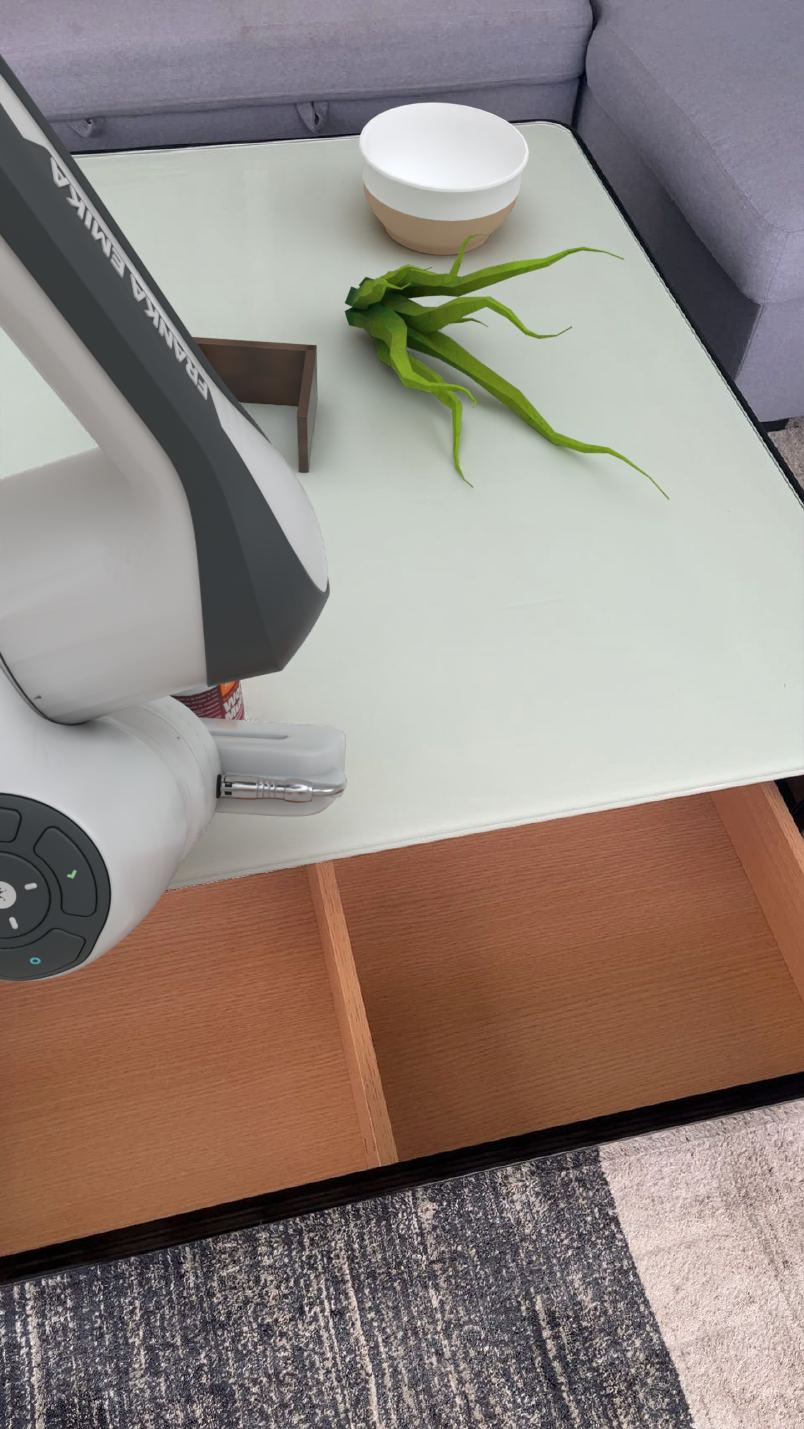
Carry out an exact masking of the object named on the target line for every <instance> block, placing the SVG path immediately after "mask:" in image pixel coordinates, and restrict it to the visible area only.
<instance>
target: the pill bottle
mask: <svg viewBox="0 0 804 1429" xmlns="http://www.w3.org/2000/svg"><path fill="white" fill-rule="evenodd" d="M170 696H171V697H173V698H174V699H176V700H178V701H179V702H181V703H182V704H184V705H185V706H186V707H188V708H189V709H190V710H191V711H192V712H193V713H194V714H195V715H196V716H197V717H199V718H215V719H231V720H246V715H245V713H246V712H245V705H244V698H243V688H242V680H239V681H234V682H230V683H225V684H221V685H216V686H212V687H208V686H207V684H205V685H202V686H198V687H195V688H192V689H189V690H186V691H182V692H179V693H176V694H173V695H170Z"/></svg>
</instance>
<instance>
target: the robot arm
mask: <svg viewBox="0 0 804 1429" xmlns="http://www.w3.org/2000/svg"><path fill="white" fill-rule="evenodd" d="M0 329H1V330H2V331H3V332H4V334H5V335H6V336H7V338H8V339H10V341H11V342H12V343H13V344H14V346H15V347H16V348H17V349H18V351H20V353H21V354H22V355H23V356H24V357H25V358H26V360H27V361H28V363H29V364H30V365H31V366H32V367H33V369H34V370H35V371H36V372H37V373H38V375H39V376H40V377H41V378H42V379H43V380H44V382H45V383H46V384H47V385H48V386H49V388H50V389H51V390H52V392H54V394H55V395H56V396H57V397H58V399H59V400H60V401H61V402H62V403H63V404H64V406H65V407H66V408H67V410H68V411H69V413H71V414H72V416H73V417H74V418H75V419H76V420H77V422H78V423H79V424H80V425H81V426H82V427H83V429H84V430H85V431H86V432H87V434H88V435H89V436H90V437H91V439H92V440H93V441H94V442H95V444H96V445H97V447H95V448H94V447H93V448H91V449H88V450H84V451H82V452H78V453H76V454H73V455H70V456H67V457H63V458H60V459H57V460H54V461H52V462H48V463H45V464H42V465H38V466H35V467H33V468H32V467H31V468H29V469H26V470H23V471H20V472H16V473H14V474H11V475H8V476H5V477H1V478H0V981H1V982H2V981H3V982H10V983H11V982H12V983H23V982H38V981H45V980H51V979H54V978H59V977H64V976H66V975H68V974H71V973H74V972H76V971H79V970H81V969H83V968H84V967H87V966H88V965H89V964H91V963H94V962H95V961H96V960H98V959H99V958H101V957H102V956H104V955H105V954H106V953H108V952H109V951H110V950H112V949H113V948H115V947H116V946H117V945H118V944H120V942H121V941H123V940H124V939H125V938H126V937H127V936H128V935H130V934H131V933H132V932H133V931H134V930H135V929H136V928H137V927H138V926H139V925H140V923H141V922H142V921H143V920H145V918H146V917H147V916H148V915H149V913H150V912H151V911H152V910H153V909H154V907H155V906H156V905H157V903H158V902H159V901H160V899H161V898H162V896H163V895H164V893H165V892H166V890H168V887H169V886H170V885H171V882H172V881H173V879H174V877H175V875H176V873H177V872H178V869H179V867H180V866H181V865H182V864H183V862H185V860H186V859H187V857H188V856H189V855H190V853H191V852H192V851H193V849H194V848H195V846H196V844H197V842H198V841H199V839H200V838H201V837H202V835H203V833H205V831H206V829H207V828H208V826H209V824H211V821H212V820H213V817H214V816H215V813H219V814H234V815H235V814H236V815H251V816H268V817H284V818H285V817H288V818H289V817H291V818H293V817H306V816H307V817H308V816H313V815H317V814H320V813H322V812H324V811H325V810H326V809H328V808H329V807H330V806H331V805H332V804H333V803H335V801H336V800H337V799H338V798H340V797H341V796H343V795H344V794H345V790H346V788H347V783H348V778H347V777H346V773H345V765H346V748H347V746H346V745H347V738H346V737H347V735H346V733H345V731H344V730H342V729H340V728H338V727H335V726H331V725H325V724H324V725H323V724H308V723H291V722H275V721H261V720H246V719H245V720H231V719H215V718H199V717H197V716H196V715H195V714H194V713H193V712H192V711H191V710H190V709H189V708H188V707H186V706H185V705H184V704H182V703H181V702H179V701H178V700H176V699H174V698H173V697H171V696H170V695H173V694H176V693H179V692H182V691H186V690H189V689H192V688H195V687H198V686H202V685H205V684H207V686H208V687H212V686H216V685H221V684H225V683H230V682H234V681H239V680H241V681H243V680H247V679H251V678H256V677H260V676H265V675H270V674H274V673H278V672H282V671H283V670H284V669H285V668H286V666H287V665H288V664H289V663H290V661H291V660H292V659H293V658H294V656H295V655H296V654H297V652H298V651H299V650H300V648H301V647H302V645H303V644H304V642H305V641H306V640H307V638H308V637H309V635H310V633H311V632H312V631H313V629H314V627H315V625H316V623H317V622H318V620H319V618H320V616H321V615H322V612H323V610H324V608H325V606H326V604H327V602H328V599H329V597H330V595H331V594H330V593H331V587H330V578H329V567H328V566H329V564H328V559H327V550H326V545H325V541H324V536H323V532H322V529H321V525H320V522H319V520H318V517H317V514H316V511H315V509H314V507H313V505H312V502H311V500H310V497H309V496H308V494H307V492H306V490H305V488H304V486H303V484H302V483H301V481H300V479H299V477H298V476H297V474H296V473H295V471H294V470H293V469H292V467H291V465H290V464H289V463H288V462H287V461H286V459H285V458H284V457H283V456H282V455H281V453H280V452H279V451H278V450H277V449H276V447H275V446H273V444H272V442H271V441H270V439H269V438H268V437H267V434H265V432H264V431H263V430H262V428H261V427H260V426H259V424H258V423H257V422H256V421H255V419H254V418H253V416H252V415H250V413H249V412H248V411H247V410H246V409H245V407H244V406H243V405H242V404H241V402H239V401H238V400H237V399H236V398H235V396H234V395H233V394H232V393H231V391H230V390H229V389H228V388H227V386H226V385H225V384H224V382H223V381H222V380H221V378H220V377H219V376H218V374H217V373H216V371H215V370H214V369H213V367H212V366H211V364H210V363H209V361H208V360H207V358H206V357H205V355H204V354H203V352H202V351H201V349H200V348H199V346H198V345H197V343H196V342H195V340H194V339H193V337H194V336H192V334H191V333H190V331H189V330H188V328H187V327H186V326H185V323H184V322H183V321H182V320H181V318H180V317H179V315H178V313H177V312H176V310H175V309H174V307H173V305H171V302H170V300H168V298H167V297H166V295H165V294H164V292H163V291H162V289H161V287H160V286H159V284H158V282H156V280H155V279H154V277H153V276H152V274H151V273H150V271H149V270H148V267H146V265H145V264H144V262H143V260H142V259H141V257H140V256H139V254H138V253H137V251H136V250H135V248H134V247H133V245H132V243H131V242H130V241H129V240H128V237H127V236H126V235H125V234H124V232H123V230H122V229H121V227H120V226H119V224H118V223H117V221H116V220H115V219H114V217H113V215H112V213H111V212H110V210H109V209H108V208H107V206H106V205H105V203H104V202H103V200H102V198H101V197H100V196H99V194H98V192H97V191H96V190H95V188H94V187H93V185H92V184H91V182H90V181H89V179H88V178H87V176H86V175H85V173H84V172H83V170H82V169H81V168H80V166H79V165H78V163H77V162H76V160H75V158H74V156H72V155H71V153H70V151H69V149H68V148H67V147H66V145H65V144H64V142H63V141H62V140H61V138H60V137H59V135H58V134H57V132H56V131H55V130H54V128H53V127H52V126H51V124H50V123H49V120H47V117H45V115H44V114H43V112H42V111H41V109H40V108H39V107H38V105H37V103H36V102H35V101H34V98H32V96H31V95H30V93H29V92H28V90H27V89H26V87H25V86H24V85H23V84H22V82H21V80H20V79H19V78H18V76H17V75H16V73H15V72H14V71H13V69H12V68H11V67H10V65H9V64H8V62H7V61H6V59H5V58H4V57H3V55H2V54H1V53H0Z"/></svg>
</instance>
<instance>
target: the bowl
mask: <svg viewBox="0 0 804 1429" xmlns="http://www.w3.org/2000/svg"><path fill="white" fill-rule="evenodd" d="M358 149H359V151H360V154H361V156H362V167H361V168H362V169H361V178H362V184H363V191H364V195H365V197H366V200H367V202H368V204H369V207H370V208H371V210H372V212H373V214H374V215H375V216H376V218H377V219H378V220H379V221H380V222H381V223H382V225H383V226H384V229H385V232H386V233H387V234H388V236H389V237H390V238H391V239H392V240H394V241H395V243H397V244H400V245H401V246H403V247H404V248H407V249H409V250H412V251H415V252H418V253H422V254H428V255H435V256H448V255H449V256H451V255H458V254H459V251H460V249H461V246H462V243H463V242H464V241H465V240H466V239H467V238H468V237H469V236H472V235H477V234H485V235H479V236H476V237H473V238H470V240H469V241H468V243H467V244H466V246H465V250H464V253H467V252H470V251H473V250H475V249H477V248H479V247H481V246H482V245H483V244H484V243H485V242H487V240H488V239H489V237H490V236H486V235H491V234H493V232H495V231H496V230H497V229H498V228H499V227H501V226H502V225H503V224H504V222H505V221H506V219H507V218H508V217H509V215H510V214H511V213H512V211H513V209H514V208H515V205H516V203H517V200H518V196H519V193H520V189H521V186H522V176H523V175H522V173H523V171H524V169H525V167H526V166H527V164H528V161H529V157H530V152H529V151H530V150H529V145H528V143H527V141H526V139H525V137H524V135H523V134H522V133H521V132H520V131H519V130H518V129H517V127H515V126H514V125H512V124H511V122H508V121H507V120H506V119H503V118H502V117H500V116H498V115H496V114H494V113H491V112H488V111H486V110H483V109H481V108H477V107H476V108H475V107H473V106H469V105H463V104H457V103H451V102H450V103H449V102H417V103H411V104H405V105H400V106H396V107H394V108H389V109H387V110H385V111H382V112H381V113H378V114H377V115H376V116H374V117H372V118H371V119H370V120H369V121H368V122H367V123H366V124H365V125H364V127H363V128H362V130H361V132H360V134H359V137H358Z"/></svg>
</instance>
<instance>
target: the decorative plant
mask: <svg viewBox="0 0 804 1429" xmlns="http://www.w3.org/2000/svg"><path fill="white" fill-rule="evenodd" d="M479 235H485V234H477V235H472V236H469V237H468V238H467V239H466V240H465V241H464V242H463V243H462V246H461V249H460V251H459V254H457V257H456V259H455V261H454V262H453V265H452V267H451V268H450V271H449V273H438V272H434V271H431V270H430V269H432V268H433V266H430V267H428V268H425V269H424V268H421V267H418V266H415V265H411V264H405V265H402V266H400V267H399V268H397V269H395V270H388V271H387V272H386V273H385V274H384V275H383V274H382V275H381V276H379V277H376V278H371V277H369V276H365V277H364V278H363V279H362V281H361V282H360V283H359V284H358V286H359V287H357V288H356V287H354V286H350V288H349V290H348V293H347V296H346V299H345V301H344V304H345V305H347V306H349V308H348V309H346V310H344V314H345V317H346V318H345V319H346V321H347V324H348V326H349V327H355V328H360V329H363V330H364V331H365V332H367V333H368V334H369V336H370V337H371V338H372V340H373V341H374V346H375V351H376V356H377V359H378V360H379V361H381V362H382V363H384V364H385V365H387V366H388V367H390V368H392V369H393V370H394V372H395V374H396V375H397V377H398V379H399V380H400V382H401V383H402V385H403V387H405V388H410V389H414V390H418V391H423V392H426V393H430V394H432V395H433V396H434V397H435V398H437V399H438V400H439V401H440V402H441V403H442V404H443V405H444V406H446V407H447V409H449V410H450V411H451V422H452V436H453V437H452V446H453V447H452V457H453V461H454V467H455V469H456V470H457V472H458V474H459V475H460V477H461V479H462V480H463V481H464V482H465V483H467V485H469V487H471V488H472V489H474V486H473V485H472V484H471V483H470V482H469V481H468V480H466V478H465V476H464V474H463V472H462V469H461V467H460V462H459V460H460V459H459V450H460V442H461V434H462V414H463V403H462V402H461V401H460V399H459V398H458V397H457V396H456V394H455V392H459V393H463V394H465V395H466V396H467V398H469V399H470V400H471V401H472V402H473V405H472V408H473V409H474V408H475V407H476V406H477V403H478V401H477V400H476V398H475V397H474V395H473V394H472V393H471V392H470V390H469V389H467V388H466V387H464V386H461V385H459V384H452V383H447V382H446V380H444V378H443V377H442V376H441V375H440V374H439V373H437V372H435V371H434V370H433V369H432V368H430V367H429V366H428V365H426V364H425V363H423V362H422V361H421V360H419V359H418V358H416V357H415V356H413V355H412V354H411V353H410V352H408V349H411V350H413V351H416V352H419V353H422V354H425V355H427V356H430V357H432V358H435V359H438V360H440V361H442V362H443V363H445V364H447V365H448V366H450V367H452V368H453V369H454V370H457V371H459V372H460V373H462V374H464V375H466V376H467V377H469V378H470V379H472V380H473V381H474V382H475V383H476V384H478V385H479V386H480V387H481V388H483V389H484V390H485V391H486V392H487V393H489V394H490V395H492V396H493V397H494V398H495V399H496V400H498V401H499V402H500V403H502V404H503V405H504V406H505V407H507V408H508V409H509V410H510V411H512V412H513V413H514V414H516V415H517V416H518V417H519V418H521V419H522V420H523V421H524V422H526V423H527V424H528V425H529V426H531V427H532V428H533V429H534V430H536V431H537V432H538V433H540V434H541V436H543V437H544V438H546V439H547V440H548V441H549V442H550V443H552V444H555V445H557V446H560V447H564V448H566V449H569V450H572V451H576V452H579V453H582V454H609V455H611V456H613V457H615V458H618V459H619V460H621V461H623V462H625V463H626V464H628V465H629V466H631V467H632V468H633V469H635V470H636V471H638V472H639V473H641V474H642V475H644V476H645V477H647V478H648V479H649V480H650V481H651V482H652V483H653V484H654V485H655V486H656V488H657V489H658V490H659V491H660V492H661V493H662V494H663V496H664V497H665V498H666V499H667V500H668V501H669V500H670V497H669V496H668V495H667V494H666V493H665V492H664V491H663V490H662V488H661V487H660V486H659V485H658V484H657V483H656V482H655V480H654V479H653V478H652V477H651V476H650V475H648V474H647V473H646V472H645V471H644V470H642V469H641V468H639V467H638V466H637V465H636V464H634V463H633V462H632V461H631V460H629V459H628V458H627V457H626V456H624V455H622V454H620V453H619V452H618V451H615V450H614V449H612V448H611V447H608V446H603V445H596V444H590V443H585V442H582V441H579V440H577V439H575V438H571V437H569V436H567V435H564V434H562V433H558V432H557V431H555V430H554V429H553V427H551V425H550V424H549V423H548V421H546V420H545V418H544V417H543V416H542V415H541V413H539V411H538V410H537V409H536V408H535V406H534V405H533V404H532V403H531V402H530V401H529V400H528V398H527V397H526V395H524V393H523V392H522V391H521V390H520V389H518V387H516V386H514V385H513V384H512V383H510V382H509V381H508V380H506V379H505V378H503V376H500V375H499V374H498V373H497V372H495V371H494V370H493V369H491V368H490V367H489V366H487V365H485V364H484V363H483V362H481V360H479V359H478V358H476V357H475V356H473V355H472V354H471V353H470V352H469V351H468V350H466V349H465V348H464V347H462V346H461V345H460V343H458V342H456V341H455V340H454V339H453V338H452V337H450V336H449V335H447V334H445V333H443V332H441V331H440V330H442V329H443V328H445V327H447V326H449V325H453V324H462V323H467V322H474V323H479V324H481V325H483V326H484V327H486V328H489V326H488V325H486V324H485V323H484V322H482V321H481V320H478V319H476V318H473V317H466V316H469V315H471V314H473V313H476V312H478V311H480V310H483V309H485V308H488V309H490V310H491V311H494V312H495V313H496V314H499V315H500V316H502V317H504V318H505V319H507V320H508V321H509V322H511V323H512V324H513V325H514V326H515V327H516V328H517V329H518V330H520V331H521V333H523V334H524V335H525V336H528V337H530V338H531V337H532V338H535V339H538V340H542V339H548V338H557V337H558V336H560V335H563V333H565V332H567V331H569V330H571V329H572V328H573V326H572V325H571V326H570V327H567V328H566V329H564V330H562V331H560V332H559V333H557V334H538V333H537V332H534V331H531V330H529V329H528V328H527V326H525V324H524V323H523V322H522V321H521V320H520V318H519V317H518V316H517V315H516V314H515V313H514V311H513V310H512V309H510V308H509V307H507V306H506V305H505V304H503V303H501V302H500V301H498V300H497V299H495V298H493V297H492V296H491V295H490V296H489V295H487V296H486V295H485V296H465V295H467V294H471V293H474V292H476V291H479V290H481V289H484V288H487V287H489V286H493V285H496V284H499V283H500V282H503V281H506V280H509V279H511V278H513V277H517V276H520V275H524V274H527V273H531V272H534V271H538V270H541V269H545V268H547V267H550V266H551V265H553V264H555V263H557V262H558V261H561V260H562V259H563V258H566V257H568V256H569V255H573V254H575V253H578V252H582V251H584V252H593V253H605V254H607V255H610V256H613V257H615V258H617V259H620V260H622V261H624V260H625V258H624V257H623V256H622V257H621V256H619V255H616V254H613V253H611V252H608V251H606V250H602V249H597V248H592V247H586V246H580V247H574V248H567V249H565V250H562V251H560V252H557V253H555V254H552V255H549V256H547V257H542V258H531V259H523V260H513V261H510V262H505V263H502V264H497V265H493V266H487V267H485V268H482V269H478V270H476V271H473V272H471V273H468V274H465V275H462V276H459V275H458V274H459V271H460V268H461V265H462V261H463V258H464V254H465V252H464V250H465V246H466V244H467V243H468V241H469V240H470V238H473V237H476V236H479ZM486 236H489V237H492V235H491V234H490V235H486ZM425 297H452V299H451V300H449V301H447V302H445V303H443V304H440V305H438V306H423V305H421V304H420V303H417V302H416V301H414V300H412V299H417V298H425ZM453 297H454V299H453ZM454 391H455V392H454Z"/></svg>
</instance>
